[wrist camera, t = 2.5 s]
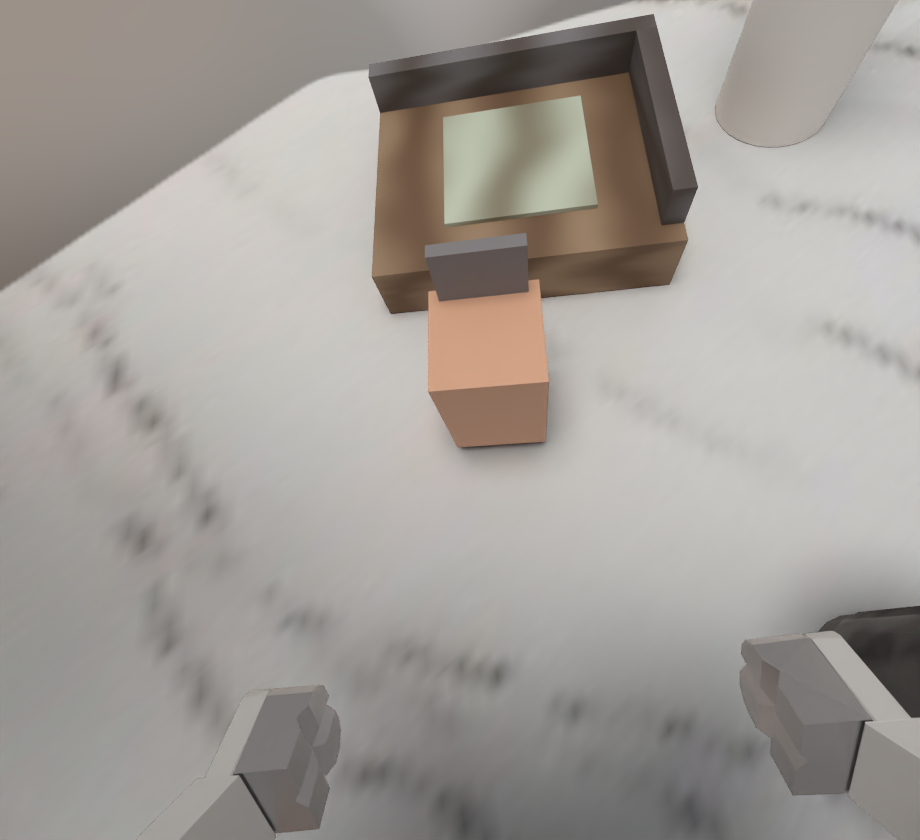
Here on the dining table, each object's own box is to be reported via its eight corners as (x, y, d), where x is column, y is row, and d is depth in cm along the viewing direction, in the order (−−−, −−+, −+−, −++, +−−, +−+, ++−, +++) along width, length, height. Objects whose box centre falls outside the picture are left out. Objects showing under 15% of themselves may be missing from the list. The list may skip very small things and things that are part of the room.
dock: (390, 313, 32) (357, 248, 26) (396, 149, 38) (369, 64, 32) (669, 284, 30) (702, 205, 24) (633, 113, 35) (653, 14, 29)
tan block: (459, 451, 28) (410, 358, 17) (458, 374, 30) (412, 247, 19) (545, 445, 28) (550, 345, 17) (538, 367, 29) (539, 231, 18)
